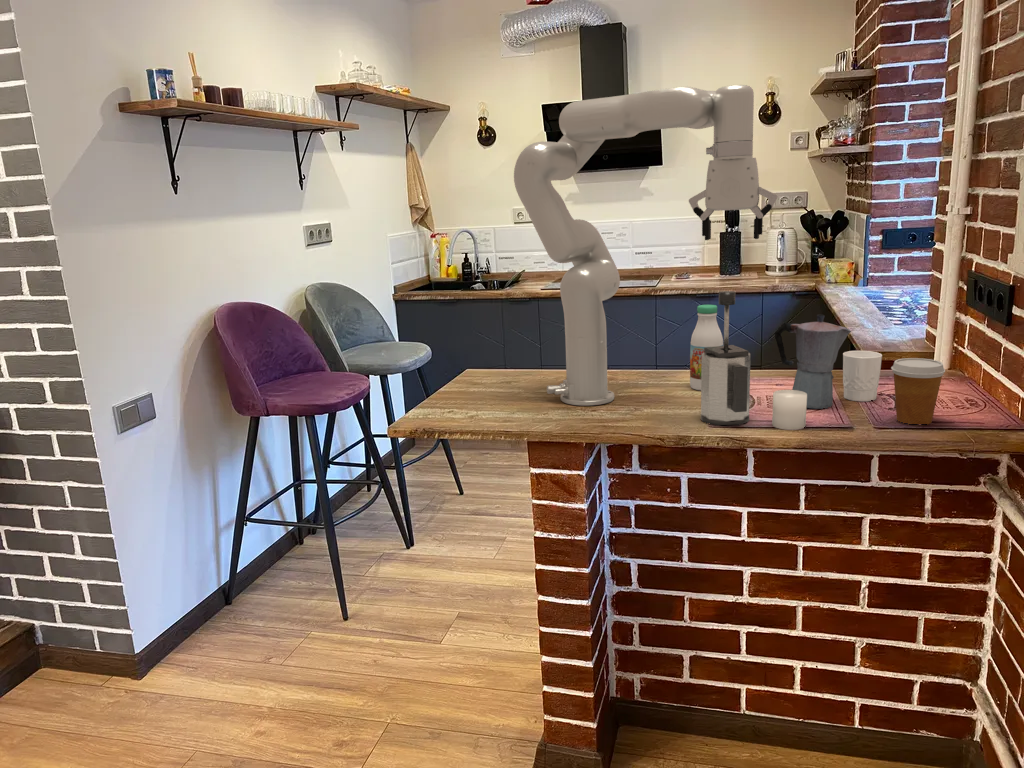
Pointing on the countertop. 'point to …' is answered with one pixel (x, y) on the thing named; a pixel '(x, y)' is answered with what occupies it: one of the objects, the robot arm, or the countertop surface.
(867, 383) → the white cup
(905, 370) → the disposable coffee cup
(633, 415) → the countertop surface
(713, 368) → the press carafe
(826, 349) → the moka pot
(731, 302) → the plunger
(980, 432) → the countertop surface
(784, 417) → the white pillar candle
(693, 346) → the milk bottle
